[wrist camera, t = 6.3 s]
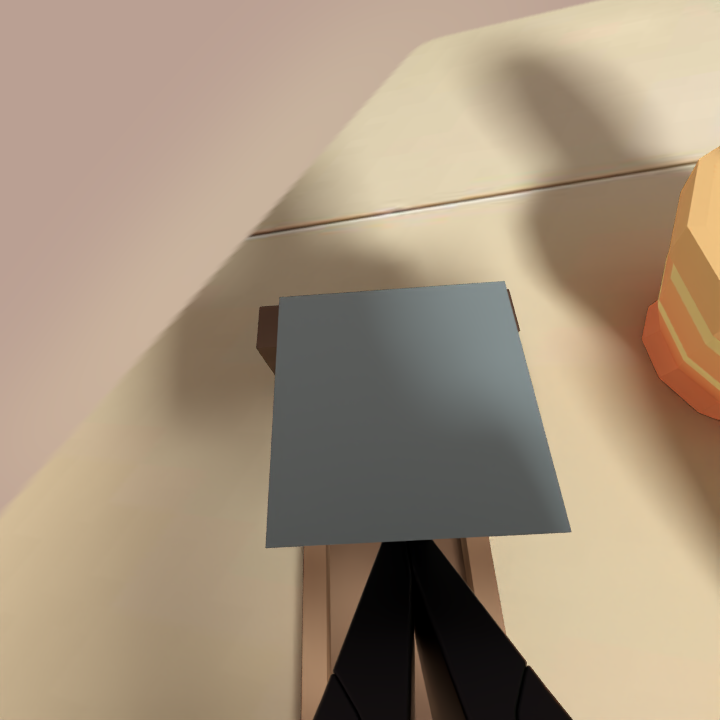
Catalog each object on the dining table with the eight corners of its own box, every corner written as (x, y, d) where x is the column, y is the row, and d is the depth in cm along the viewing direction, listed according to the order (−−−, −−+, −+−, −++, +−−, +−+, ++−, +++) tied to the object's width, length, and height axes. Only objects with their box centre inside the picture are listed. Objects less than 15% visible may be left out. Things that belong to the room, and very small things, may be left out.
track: (525, 794, 13) (764, 1235, 5) (304, 801, 13) (183, 1233, 5) (455, 381, 20) (506, 279, 12) (309, 390, 20) (260, 296, 12)
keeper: (455, 529, 16) (571, 532, 6) (335, 536, 16) (265, 547, 6) (438, 413, 18) (504, 281, 8) (333, 420, 18) (279, 297, 8)
